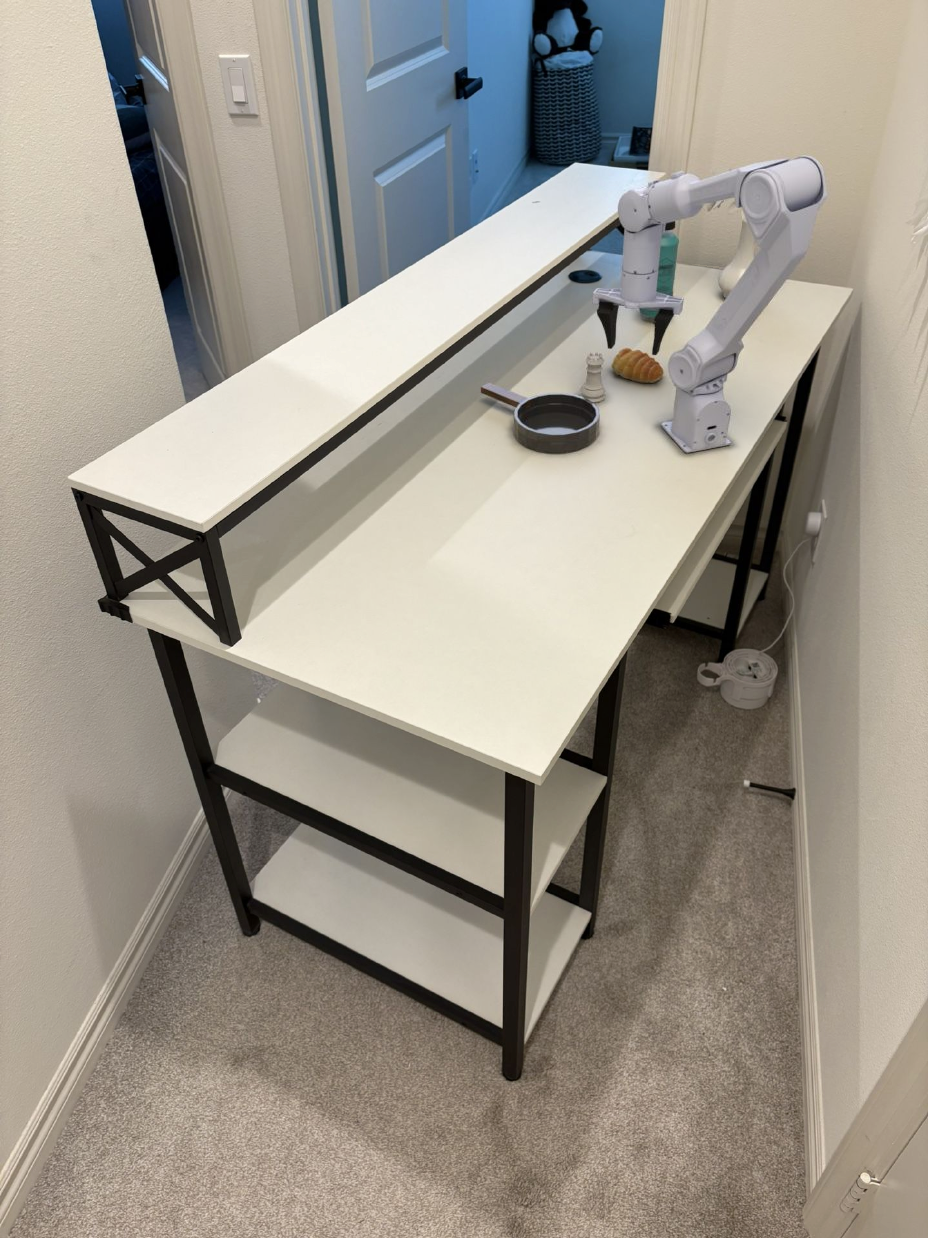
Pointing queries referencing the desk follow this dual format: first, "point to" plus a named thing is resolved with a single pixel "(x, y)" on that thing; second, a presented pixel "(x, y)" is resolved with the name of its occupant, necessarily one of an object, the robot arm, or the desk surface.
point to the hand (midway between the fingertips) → (633, 349)
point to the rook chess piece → (593, 379)
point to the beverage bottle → (665, 266)
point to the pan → (556, 422)
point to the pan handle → (503, 395)
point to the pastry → (637, 366)
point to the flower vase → (744, 250)
